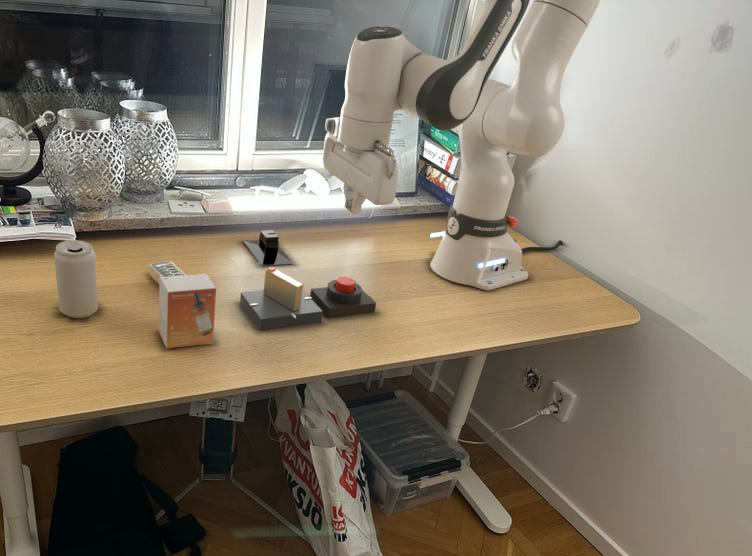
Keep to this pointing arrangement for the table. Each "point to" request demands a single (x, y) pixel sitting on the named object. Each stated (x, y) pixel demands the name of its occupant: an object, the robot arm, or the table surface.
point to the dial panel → (278, 311)
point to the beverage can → (76, 278)
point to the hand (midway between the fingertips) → (352, 210)
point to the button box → (342, 301)
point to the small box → (186, 310)
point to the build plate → (268, 250)
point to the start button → (345, 284)
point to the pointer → (283, 289)
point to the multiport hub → (164, 270)
